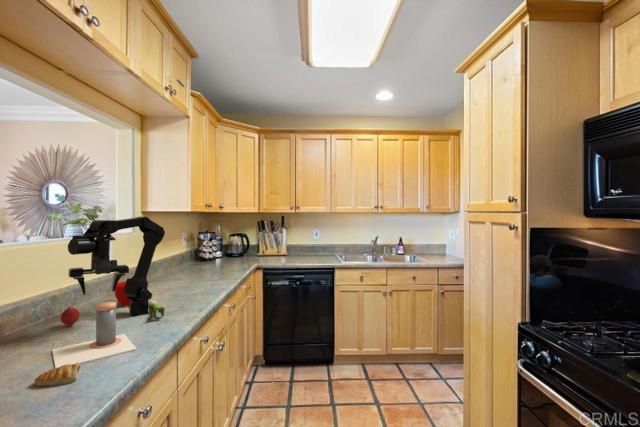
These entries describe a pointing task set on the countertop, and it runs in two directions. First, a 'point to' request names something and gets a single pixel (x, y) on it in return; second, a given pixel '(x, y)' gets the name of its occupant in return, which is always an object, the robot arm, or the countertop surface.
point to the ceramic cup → (121, 294)
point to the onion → (70, 316)
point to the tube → (106, 323)
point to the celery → (156, 308)
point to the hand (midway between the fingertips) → (99, 293)
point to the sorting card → (91, 351)
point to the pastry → (59, 375)
